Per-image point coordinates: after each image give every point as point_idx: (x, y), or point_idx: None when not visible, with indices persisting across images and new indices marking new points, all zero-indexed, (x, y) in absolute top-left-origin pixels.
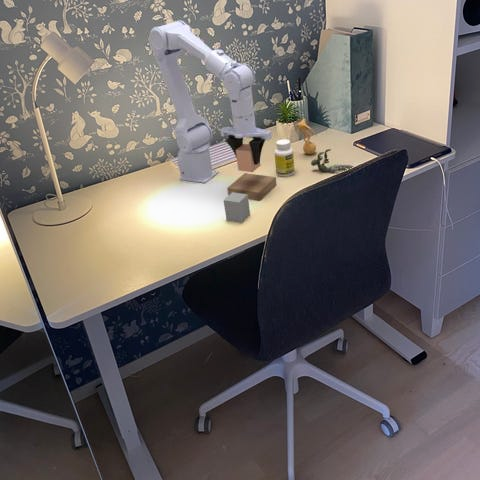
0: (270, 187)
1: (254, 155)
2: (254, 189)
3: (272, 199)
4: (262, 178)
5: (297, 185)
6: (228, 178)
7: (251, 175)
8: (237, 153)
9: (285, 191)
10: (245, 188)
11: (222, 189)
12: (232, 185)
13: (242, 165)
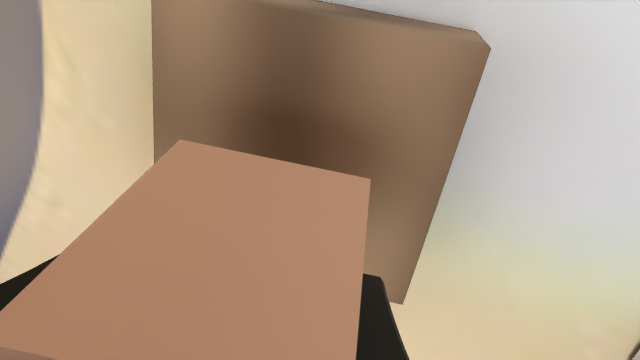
0: None
1: (16, 295)
2: (216, 39)
3: (107, 14)
4: None
5: (62, 216)
6: (538, 295)
7: None
8: (324, 351)
9: (86, 139)
10: (305, 51)
11: (554, 141)
12: (449, 103)
13: (291, 203)
